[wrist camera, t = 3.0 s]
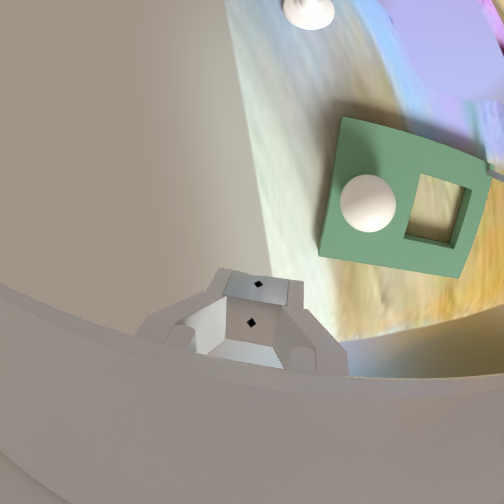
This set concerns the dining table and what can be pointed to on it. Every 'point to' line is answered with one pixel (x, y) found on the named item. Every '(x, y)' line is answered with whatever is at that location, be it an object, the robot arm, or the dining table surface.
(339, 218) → the putting mat
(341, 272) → the dining table surface
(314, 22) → the chess piece
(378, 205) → the ball
